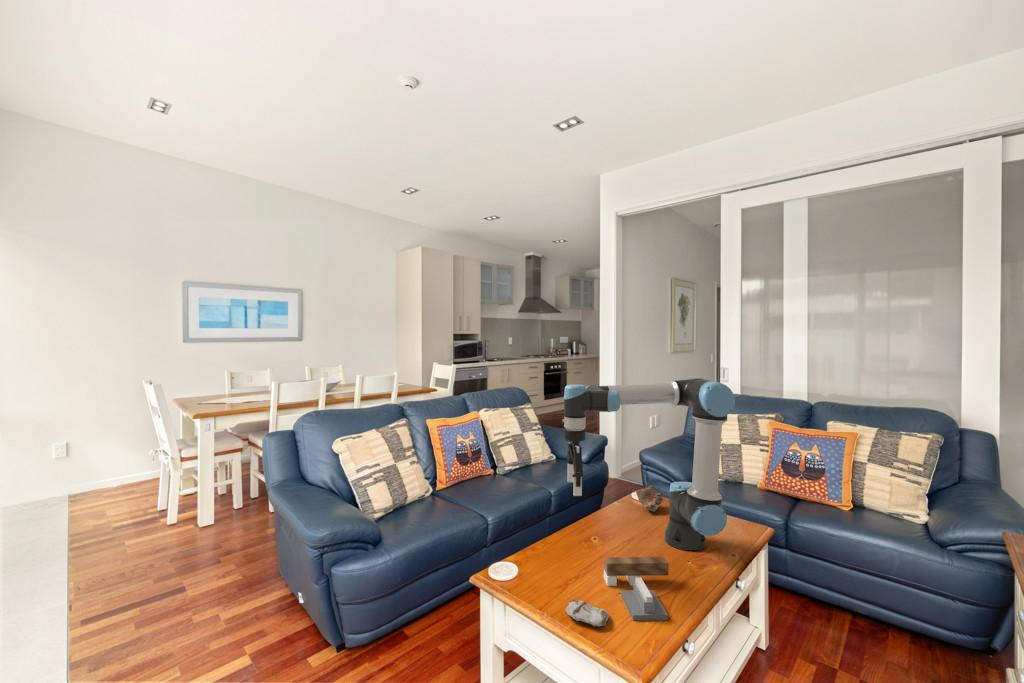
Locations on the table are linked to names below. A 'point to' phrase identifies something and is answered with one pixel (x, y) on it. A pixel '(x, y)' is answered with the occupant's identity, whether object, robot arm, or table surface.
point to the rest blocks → (613, 579)
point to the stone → (587, 613)
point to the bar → (636, 566)
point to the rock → (649, 498)
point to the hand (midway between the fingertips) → (574, 488)
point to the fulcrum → (643, 603)
